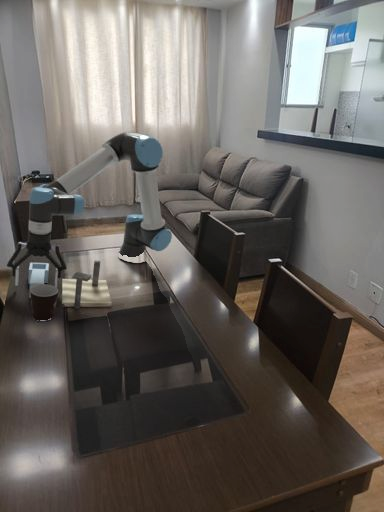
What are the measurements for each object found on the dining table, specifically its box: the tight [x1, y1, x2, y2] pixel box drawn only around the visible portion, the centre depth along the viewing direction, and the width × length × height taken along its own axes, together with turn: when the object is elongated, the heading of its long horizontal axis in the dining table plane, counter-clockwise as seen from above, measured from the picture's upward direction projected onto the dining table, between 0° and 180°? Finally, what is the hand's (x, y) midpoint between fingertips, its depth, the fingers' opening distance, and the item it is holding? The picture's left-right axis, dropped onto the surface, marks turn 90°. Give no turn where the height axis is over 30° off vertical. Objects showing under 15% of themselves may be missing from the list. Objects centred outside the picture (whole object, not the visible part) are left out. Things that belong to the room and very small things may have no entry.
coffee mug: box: [29, 284, 59, 322], centre depth 121 cm, size 12×9×10 cm
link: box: [27, 262, 50, 299], centre depth 139 cm, size 19×7×6 cm, turn 18°
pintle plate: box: [61, 259, 113, 310], centre depth 139 cm, size 22×18×12 cm
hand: (36, 284), depth 136 cm, fingers open, 13 cm apart
